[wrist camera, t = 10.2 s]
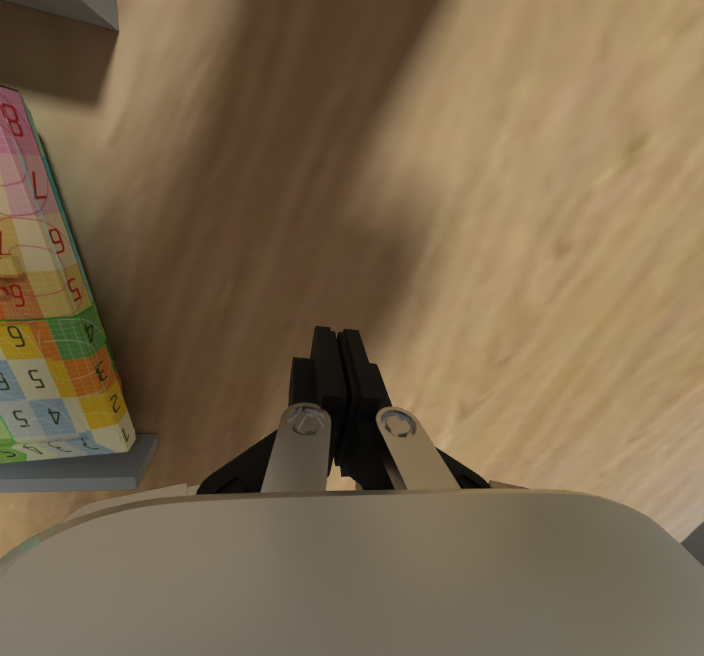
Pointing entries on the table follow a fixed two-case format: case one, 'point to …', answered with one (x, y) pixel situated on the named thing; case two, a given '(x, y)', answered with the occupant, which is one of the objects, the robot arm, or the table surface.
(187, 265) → the table surface
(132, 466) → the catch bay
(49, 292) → the puzzle game
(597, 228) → the table surface
